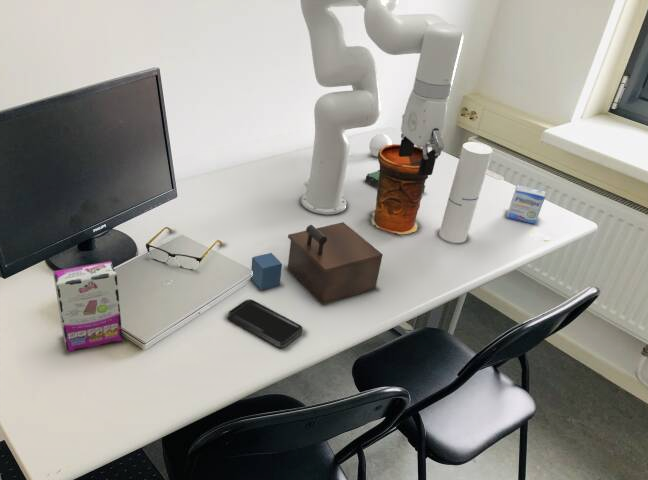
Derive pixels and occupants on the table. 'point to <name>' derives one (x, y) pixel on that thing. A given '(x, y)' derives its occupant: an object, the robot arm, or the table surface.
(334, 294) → the chest
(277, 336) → the phone
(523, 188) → the medicine box
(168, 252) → the eyeglasses
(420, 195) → the vessel
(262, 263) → the block
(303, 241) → the lid
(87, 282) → the candy bar box
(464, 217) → the cylindrical container
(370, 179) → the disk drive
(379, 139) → the white rounded piece
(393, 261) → the table surface
